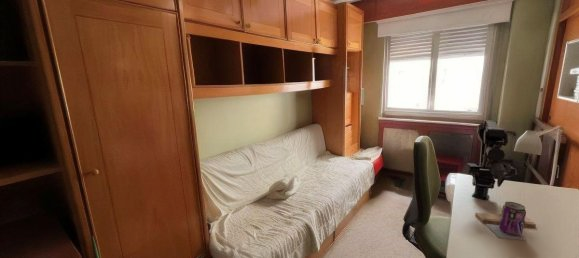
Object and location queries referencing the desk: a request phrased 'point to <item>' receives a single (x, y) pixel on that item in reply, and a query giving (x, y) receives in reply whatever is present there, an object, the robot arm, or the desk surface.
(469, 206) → the desk surface
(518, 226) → the beverage can
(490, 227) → the slate mat
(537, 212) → the desk surface
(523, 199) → the desk surface
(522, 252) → the desk surface
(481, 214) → the tan flat block
